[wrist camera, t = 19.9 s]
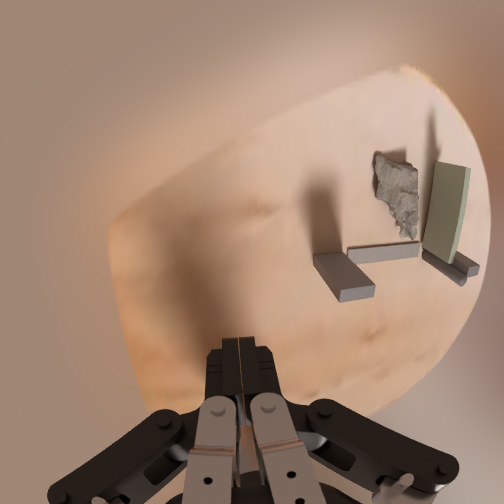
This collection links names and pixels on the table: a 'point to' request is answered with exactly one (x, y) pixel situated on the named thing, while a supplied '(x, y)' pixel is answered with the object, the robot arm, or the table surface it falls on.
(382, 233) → the table surface
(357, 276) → the door frame
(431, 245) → the door
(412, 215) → the stone
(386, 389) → the table surface
